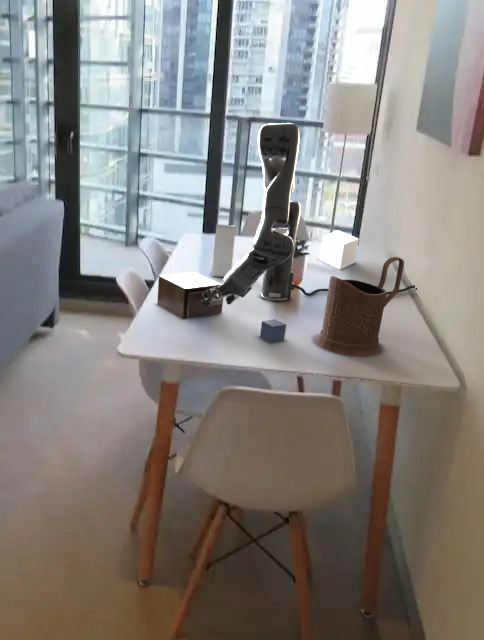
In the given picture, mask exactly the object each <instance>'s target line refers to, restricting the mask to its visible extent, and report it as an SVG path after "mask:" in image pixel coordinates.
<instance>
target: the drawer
mask: <svg viewBox="0 0 484 640" xmlns="http://www.w3.org/2000/svg"><path fill="white" fill-rule="evenodd" d="M207 290H208V289H201V290H193V291H187V300H186V313H185V314H187V316H186V317H188V318H187V319H192V318H191V317H193V318H200V317H206V315H207V316H213V314H215V315H220V314H222V313H223V303H224V298H222V299H220V300H215V301H213V302H212V303H211V304H210V305H209V306H208V307H206V308H205V307H204V306H203V303H202V301H203V300H204V297H203V294H204V293H205V292H206V291H207ZM217 294H218V296H219V297H220V296H221V295H220V293H219V291H218V292H217ZM214 297H215V296H214ZM214 297H213V298H214ZM213 298H212V299H213ZM199 316H200V317H199Z"/></svg>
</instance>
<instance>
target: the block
mask: <svg viewBox="0 0 484 640" xmlns="http://www.w3.org/2000/svg"><path fill="white" fill-rule="evenodd" d="M286 329H287V324H286V323H284V322H282V321H280V320H277V319H269V320H268V319H267V320H262V321H261V326H260V332H259V333H260V335H259V338H260V339H262V340H264V341H266V342H268V343H269V344H273V343H278V342H284V341H285V337H286Z"/></svg>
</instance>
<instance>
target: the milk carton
mask: <svg viewBox="0 0 484 640" xmlns="http://www.w3.org/2000/svg"><path fill="white" fill-rule="evenodd" d="M236 230H237V226H236V225H230V224H221V223H220V224H218V223H217V224H216V228H215V234H214V245H213V254H212V264H211V265H212V266H211V276H212V277H221V278H224V277H225V275H226V274H227V273H228V272H229V271H230V270H231V269H232V268H233V265H234V264H233V263H234V253H235V243H236V235H237V234H236V232H237V231H236Z"/></svg>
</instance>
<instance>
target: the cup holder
mask: <svg viewBox="0 0 484 640" xmlns="http://www.w3.org/2000/svg"><path fill="white" fill-rule="evenodd" d="M396 261H398V266H397V272H396V273H397V274H396V278H395V281H394V282H395V284H394V286H393V290H391V291H392V292H391V293H390V294H387V292H388V291H387V290H386V289H385V288H384V286H385V283H386V280H387V274H388V268H389V266H390V265H391V264H392V263H394V262H396ZM404 267H405V261H404V259H403V258H401V257H399V256H392V257H390V258H387V259H386V261H384V263H383V265H382V269H381V274H380V279H379V283H378V285H376V284H372V283H368V282H366V281H362V280H358V279H357V280H356V279H348V278H347V279H345V278H344V279H342V278H340V277H337V276H335V275H330V277H329V284H328V288H327V289H328V291H327V296H326V303H325V308H324V309H325V310H324V314H323V321H322V328H321V330H320V332H319V334H318V335H317V336H316V338H315V342H316V344H317V345H318V346H319V347H320V348H322V349H324V350H327V351H329V352H333V353H336V354H341V355H347V356H355V357H356V356H359V357H365V356H372V355H376V354H378V353H380V352H381V351H382V348H381V344H380V342H379V341H380V339H379V336H380V330H381V324H382V320H383V315H384V309H385V308H386V306H387V305H388V304H389V303H390V302H391V301H392V299H393V298H394V297H395V296H396V295H397V294H398V291H399V290H400V287H401V282H402V278H403V272H404Z"/></svg>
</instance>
